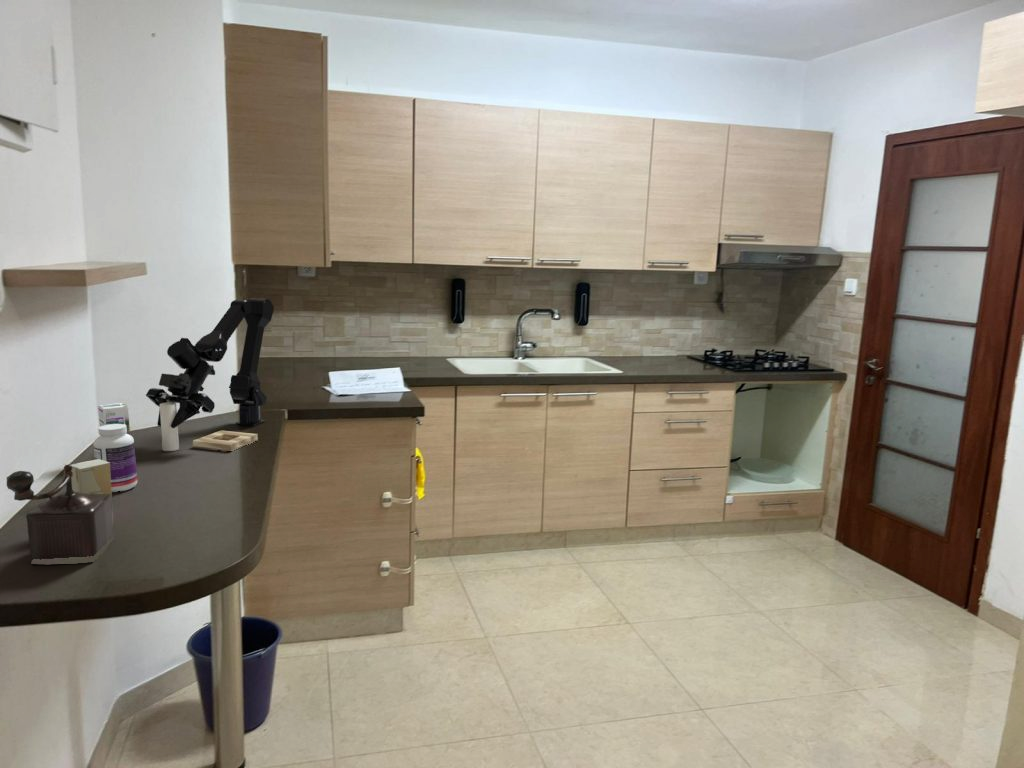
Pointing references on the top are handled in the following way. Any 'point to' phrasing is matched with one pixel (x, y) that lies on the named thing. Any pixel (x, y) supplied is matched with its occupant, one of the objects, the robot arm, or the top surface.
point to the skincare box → (92, 477)
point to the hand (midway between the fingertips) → (165, 426)
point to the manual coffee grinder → (64, 518)
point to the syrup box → (114, 415)
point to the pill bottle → (117, 455)
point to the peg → (168, 426)
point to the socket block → (225, 440)
